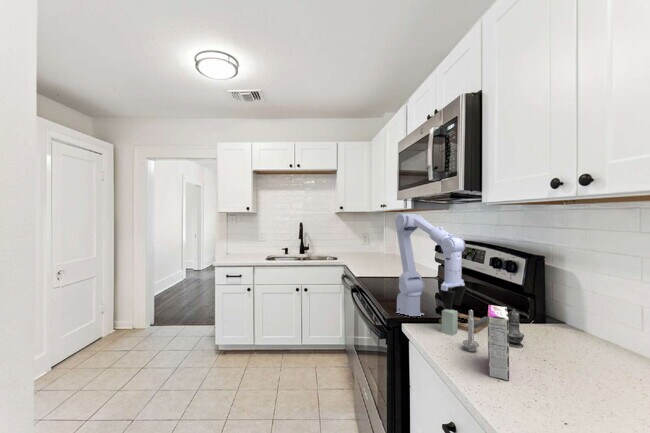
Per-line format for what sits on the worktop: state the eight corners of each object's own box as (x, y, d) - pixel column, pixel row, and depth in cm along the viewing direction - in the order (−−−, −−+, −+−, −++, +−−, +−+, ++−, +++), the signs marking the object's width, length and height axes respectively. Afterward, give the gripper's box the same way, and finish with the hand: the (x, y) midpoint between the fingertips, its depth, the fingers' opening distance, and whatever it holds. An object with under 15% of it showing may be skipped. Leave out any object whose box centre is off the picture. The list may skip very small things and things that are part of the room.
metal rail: (472, 327, 109) (472, 323, 109) (484, 320, 117) (484, 316, 117) (476, 328, 108) (476, 324, 108) (487, 320, 116) (487, 317, 116)
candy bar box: (487, 359, 88) (487, 304, 88) (507, 363, 86) (507, 306, 86) (487, 376, 79) (487, 315, 79) (509, 382, 76) (509, 318, 76)
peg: (441, 332, 109) (441, 310, 109) (446, 329, 111) (446, 308, 111) (452, 335, 106) (452, 313, 106) (457, 332, 108) (457, 311, 108)
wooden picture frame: (439, 323, 118) (439, 319, 118) (454, 315, 127) (454, 312, 127) (476, 333, 107) (476, 329, 107) (489, 324, 117) (490, 320, 117)
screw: (460, 346, 97) (476, 347, 96) (464, 352, 92) (481, 354, 92) (460, 306, 97) (476, 307, 96) (464, 311, 92) (481, 312, 92)
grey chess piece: (528, 348, 96) (528, 311, 96) (510, 348, 96) (510, 311, 96) (517, 340, 101) (517, 306, 101) (499, 340, 102) (500, 305, 102)
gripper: (455, 274, 101) (455, 314, 101) (472, 269, 110) (471, 305, 111) (435, 271, 106) (435, 309, 106) (453, 266, 116) (453, 301, 116)
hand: (452, 307), depth 109 cm, fingers open, 7 cm apart
